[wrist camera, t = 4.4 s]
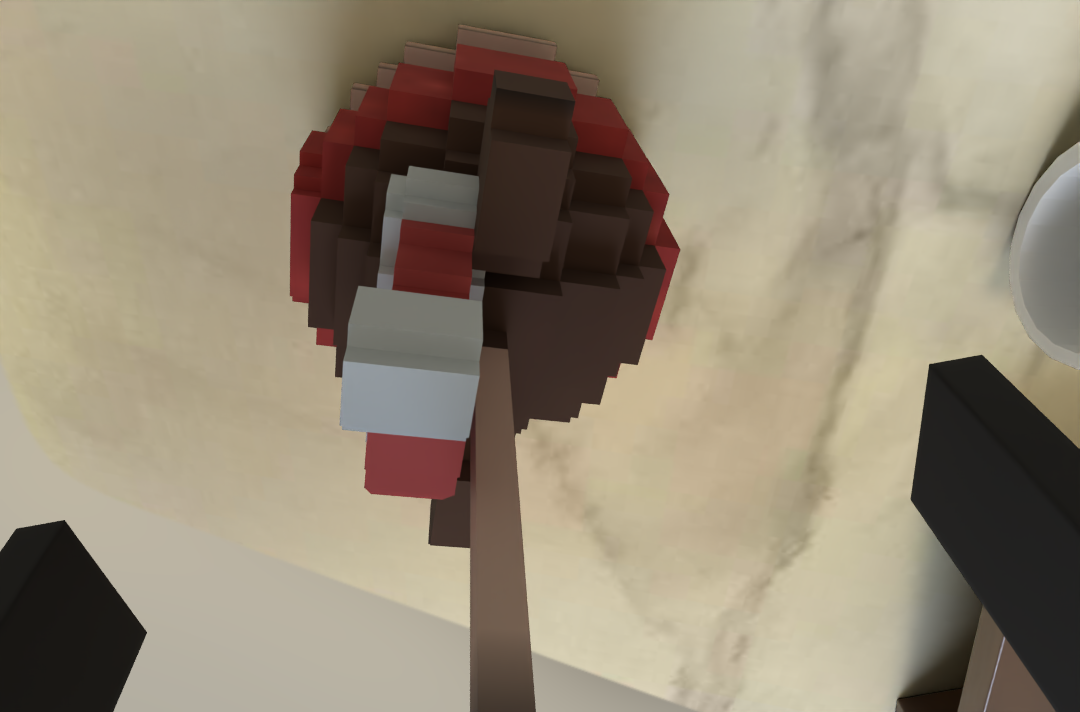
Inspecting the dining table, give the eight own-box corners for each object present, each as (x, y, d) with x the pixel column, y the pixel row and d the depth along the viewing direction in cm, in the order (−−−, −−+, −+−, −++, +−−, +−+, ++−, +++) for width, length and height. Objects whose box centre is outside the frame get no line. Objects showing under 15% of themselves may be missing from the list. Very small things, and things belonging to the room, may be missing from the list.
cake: (589, 346, 27) (737, 941, 12) (324, 314, 26) (116, 950, 11) (670, 34, 22) (1128, 416, 7) (337, -30, 20) (-61, 279, 5)
